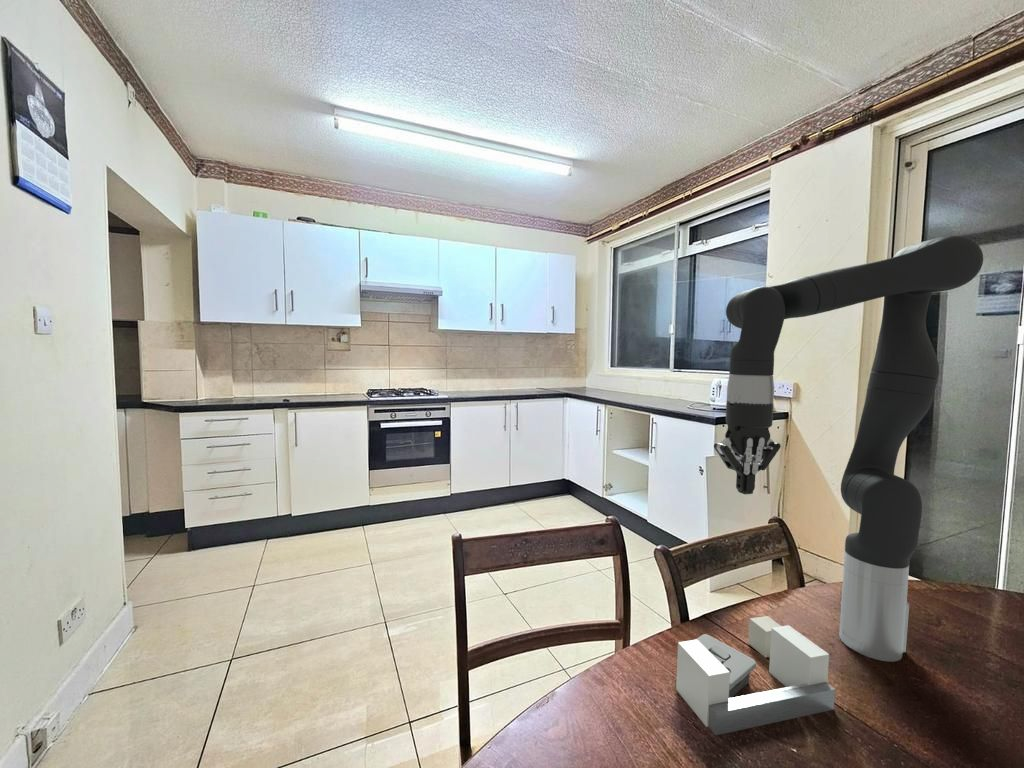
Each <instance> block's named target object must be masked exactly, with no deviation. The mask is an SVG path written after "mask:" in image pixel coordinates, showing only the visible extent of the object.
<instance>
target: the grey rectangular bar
mask: <svg viewBox="0 0 1024 768" xmlns="http://www.w3.org/2000/svg"><path fill="white" fill-rule="evenodd" d="M835 697H836V689H835V688H834V687H833V686H832V685H830V684H829V683H828V681H827V682H824V683H819V684H814V685H808V684H807V683H805V684H800V685H795V686H790V687H786V686H785V687H780V688H775V689H771V690H766V691H761V692H753V693H749V694H745V695H744V694H743V695H740V696H735V697H734V696H733V697H732V698H729V701H727V702H722V703H717V704H712V705H709V722H708V727H707V728H708V729H709V730H710V731H711V732H712V733H713V735H715V736H720V735H723V734H729V733H733V732H734V733H735V732H738V731H742V730H746V729H753V728H756V727H760V726H766V725H769V724H774V723H778V722H779V723H780V722H783V721H787V720H793V719H798V718H802V717H805V716H810V715H814V714H820V713H824V712H829V711H834V709H835Z"/></svg>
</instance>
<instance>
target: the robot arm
mask: <svg viewBox="0 0 1024 768" xmlns="http://www.w3.org/2000/svg"><path fill="white" fill-rule="evenodd" d="M983 263H984V253H983V250H982V248H981V247H980V245H979V244H978V243H977V242H976V241H974V240H973V239H972V238H969V237H965V236H961V235H947V236H946V235H945V236H941V237H936V238H931V239H928V240H924V241H920V242H917V243H913V244H911V245H907V246H905V247H903V248H901V249H900V250H898V251H897V252H895V254H894V255H893V257H890V258H889V257H888V258H885V259H882V260H877V261H872V262H868V263H863V264H856V265H852V266H847V267H843V268H837V269H832V270H831V269H830V270H826V271H822V272H817V273H814V274H809V275H806V276H802V277H798V278H794V279H792V280H788V281H787V282H782V283H780V284H777V285H771V286H770V285H769V286H758V287H754V288H750V289H748V290H747V289H746V290H744V291H742V292H739V293H737V294H735V295H734V296H733V297H731V299H730V300H729V301H728V303H727V306H726V307H725V316H726V318H727V321H728V322H729V323H730V324H731V325H732V326H733V327H735V328H738V329H741V330H740V334H739V335H740V336H739V338H738V339H739V340H738V341H737V342H736V343H735V344H734V345H733V346H732V347H731V348H730V349H731V350H730V355H729V356H730V357H729V359H730V360H729V372H728V373H729V375H728V381H727V386H726V388H727V389H726V407H725V408H726V409H725V423H726V425H727V430H726V432H725V434H724V439H723V440H722V441H721V442H715V443H714V445H713V448H714V450H715V451H716V452H717V454H718V456H719V458H720V459H721V460H722V462H723V463H724V464H725V466H726V468H727V469H728V470H731V471H732V470H733V471H734V472H736V479H735V480H736V481H735V482H736V484H735V487H736V490H737V492H738V493H740V494H743V495H752V494H753V493H754V490H755V488H756V485H755V484H756V475H757V474H758V472H760V471H765V470H766V469H767V468H768V466H769V465H770V464H771V461H772V460H773V459H774V458H775V456H776V455H777V454H778V452H779V450H780V449H781V447H782V446H781V443H779V442H775V441H773V439H771V432H770V430H769V429H770V428H771V427H772V426H773V422H774V421H773V420H774V401H775V400H774V399H775V398H774V397H775V384H774V383H775V382H774V370H775V351H776V347H777V345H778V342H779V339H780V337H781V336H780V335H781V333H782V329H783V325H784V322H785V320H787V319H796V318H798V319H799V318H805V317H811V316H814V315H817V314H818V315H819V314H823V313H827V312H831V311H834V310H838V309H843V308H846V307H850V306H854V305H857V304H862V303H865V302H868V301H872V300H876V299H880V298H883V306H882V307H883V308H882V316H881V317H882V318H881V322H880V329H879V333H878V339H877V343H876V349H875V353H874V359H873V363H872V366H871V370H870V374H869V377H868V383H867V388H866V394H865V400H864V405H863V408H862V413H861V418H860V421H859V426H858V429H857V434H856V439H855V442H854V445H853V448H852V450H851V453H850V456H849V459H848V461H847V464H846V466H845V470H844V472H843V475H842V478H841V483H840V495H841V498H842V500H843V502H844V503H845V505H846V506H847V507H848V508H850V509H851V510H853V511H854V512H856V513H858V514H859V515H860V523H859V528H858V532H853V533H850V534H847V536H846V537H845V540H844V541H845V543H844V557H843V571H842V572H843V573H842V586H841V587H842V588H841V604H840V617H839V619H840V620H839V631H838V632H839V633H838V637H839V639H840V640H841V642H842V643H844V645H845V646H847V647H848V648H850V649H851V650H853V651H854V652H856V653H859V654H860V655H863V656H865V657H866V658H870V659H873V660H878V661H881V662H891V663H892V662H893V663H895V662H898V661H901V660H902V658H903V653H906V652H907V651H906V650H907V639H908V638H907V637H908V628H909V627H908V623H909V614H910V613H909V611H910V603H909V602H908V601H907V599H908V587H909V572H910V570H909V569H910V560H911V558H912V555H914V553H915V552H916V549H917V547H918V542H919V534H920V528H921V523H922V516H923V513H922V512H923V503H922V502H923V501H922V497H921V494H920V491H919V490H918V488H917V487H916V486H915V485H914V483H912V482H910V481H909V480H907V479H905V478H903V477H901V476H898V475H895V468H896V464H897V459H898V454H899V451H900V449H901V446H902V444H903V442H904V441H905V439H906V438H907V437H908V436H909V434H910V433H911V432H912V431H913V430H914V429H915V428H916V427H917V425H919V423H920V422H921V421H922V420H923V418H924V417H925V416H926V415H927V413H928V411H929V410H930V409H931V407H932V404H933V400H934V397H935V394H936V393H935V392H936V388H937V384H938V380H939V376H940V363H939V360H938V356H937V353H936V350H935V349H934V348H935V347H934V346H933V344H932V342H931V339H930V337H929V333H928V331H927V314H928V307H929V305H930V304H929V303H930V300H931V296H932V294H933V293H940V292H944V291H945V292H946V291H950V290H954V289H957V288H960V287H963V286H964V285H966V284H968V283H970V282H971V281H973V279H974V278H976V276H977V275H979V273H980V271H981V269H982V266H983Z"/></svg>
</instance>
